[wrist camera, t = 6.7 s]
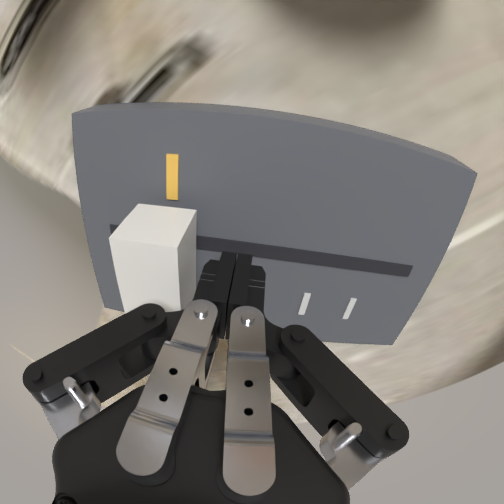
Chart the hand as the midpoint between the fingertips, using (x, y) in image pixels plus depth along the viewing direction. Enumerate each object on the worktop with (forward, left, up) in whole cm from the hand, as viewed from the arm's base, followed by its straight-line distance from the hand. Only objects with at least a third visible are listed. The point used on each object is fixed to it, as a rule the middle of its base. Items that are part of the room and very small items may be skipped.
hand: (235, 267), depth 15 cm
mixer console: (-1, 0, -5) cm, 5 cm away
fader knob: (+4, 0, -1) cm, 4 cm away
